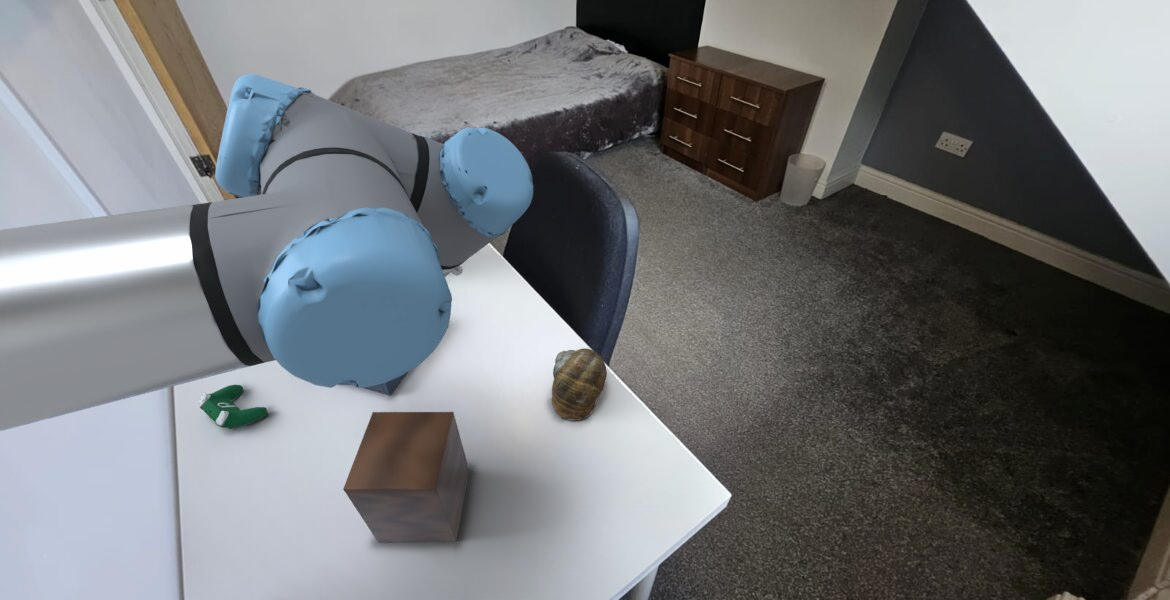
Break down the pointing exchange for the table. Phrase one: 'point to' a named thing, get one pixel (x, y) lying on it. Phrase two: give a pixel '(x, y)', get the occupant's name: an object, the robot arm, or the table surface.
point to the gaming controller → (229, 408)
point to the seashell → (577, 382)
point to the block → (410, 477)
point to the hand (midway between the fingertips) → (338, 323)
